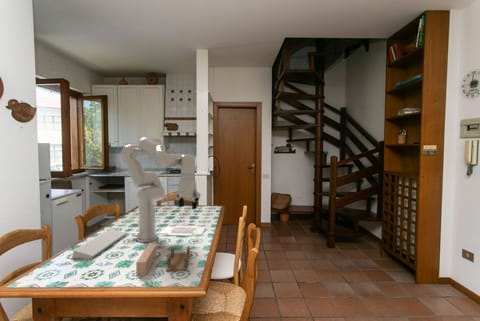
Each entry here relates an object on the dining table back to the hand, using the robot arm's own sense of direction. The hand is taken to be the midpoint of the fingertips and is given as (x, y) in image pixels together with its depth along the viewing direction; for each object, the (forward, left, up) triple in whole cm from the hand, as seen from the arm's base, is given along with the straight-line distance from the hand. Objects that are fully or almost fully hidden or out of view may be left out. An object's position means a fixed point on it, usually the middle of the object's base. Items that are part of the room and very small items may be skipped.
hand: (187, 207), depth 139 cm
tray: (-6, +32, -24) cm, 40 cm away
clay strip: (-18, -16, -24) cm, 34 cm away
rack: (-3, -16, -23) cm, 29 cm away
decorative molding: (-49, +8, -24) cm, 56 cm away
